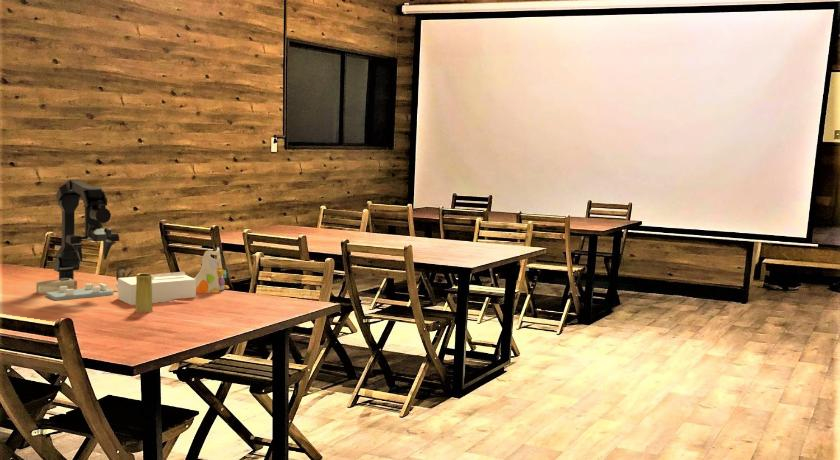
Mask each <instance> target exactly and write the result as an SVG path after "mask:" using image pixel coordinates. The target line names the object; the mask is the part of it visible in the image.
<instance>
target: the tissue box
mask: <svg viewBox="0 0 840 460" xmlns="http://www.w3.org/2000/svg"><path fill="white" fill-rule="evenodd" d="M146 274H149V272H148V273H146ZM151 275H152V304H159V303H158V302H161V303H167V302H166V301H172V302H175V301H174V300H180V299H187V298H197V293H196V279H194V278H195V277H191V276H189V275H187V274H186V272H185V271H177V272H168V273H158V274H151ZM125 277H126V276H125ZM117 284H118V288H117V300H120V301H121V302H123V303H126V304H128V305H130V306H136V276H129V277H126V278H118V281H117Z"/></svg>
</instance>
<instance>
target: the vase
mask: <svg viewBox="0 0 840 460" xmlns="http://www.w3.org/2000/svg"><path fill="white" fill-rule="evenodd" d="M152 275H153V274H151V273H148V274H146V273H144V272H143V273H138V274H136V276H135V277H136V305H134V308H135V313H138V312H142V313H141V314H145V313H144V312H148V313H152V312H153V303H152ZM151 311H152V312H151Z"/></svg>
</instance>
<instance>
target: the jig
mask: <svg viewBox="0 0 840 460" xmlns="http://www.w3.org/2000/svg"><path fill="white" fill-rule="evenodd" d="M45 295H46V296H45V297H46V298H49V299H52V300H53V301H63V300H65V301H66V300H73V299H74V300H75V299H85V298H94V297H104V296H105V297H106V296H113V295H114V290H112V289H109V288H108V284H105V283H102V282H100V283H99V284H98V285H97V286H94V283H85V288H77V289H75V290H74V289H68V287H67V286H60V291H56V292H46V294H45Z"/></svg>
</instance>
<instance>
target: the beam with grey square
mask: <svg viewBox="0 0 840 460" xmlns="http://www.w3.org/2000/svg"><path fill="white" fill-rule="evenodd" d="M35 285H36V293H37V294H39V295H46V292H56V291H60V286H67V287H68V289H74V290H75V289H78V281H77V280H76V279H75V278H74V279H70V278H60V279H59V278H58V279H50V280H49V279H48V280H40V281H36V284H35Z"/></svg>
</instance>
